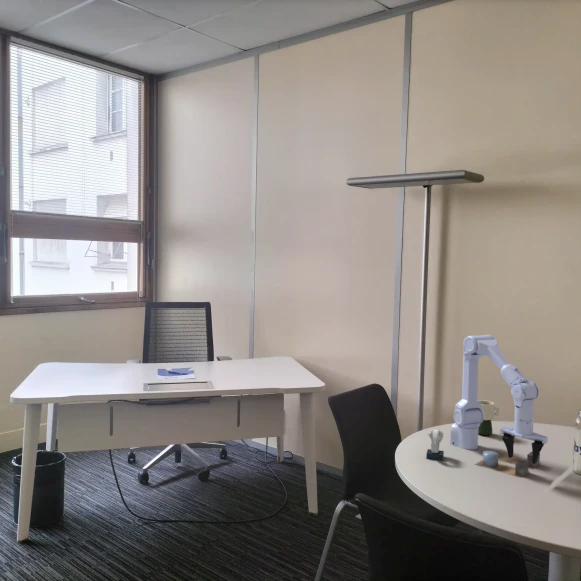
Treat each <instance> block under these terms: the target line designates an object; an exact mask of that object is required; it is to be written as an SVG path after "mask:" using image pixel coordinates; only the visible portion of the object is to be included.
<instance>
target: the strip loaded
mask: <svg viewBox="0 0 581 581" xmlns="http://www.w3.org/2000/svg"><path fill="white" fill-rule="evenodd" d="M474 466H478V467H481V468H485V469H489V470H492V471H495V472H499V473H501V474H502V473H503V474H507V475H509V476H514V477H517V478H521V479H523V478H524V477H526V476H527V475H528V474H529V473H530V471H529V470H530V468H529V460H527V459H526V460H525V458H522V459H520V460H519V461H517V462H516V465H515V464H514V466H510V465H507V464H503V463H499V462H498V467H496V468H490V467H486V466H484V465H483V459H481V460H479V461H478V462H477V463H475V464H474Z"/></svg>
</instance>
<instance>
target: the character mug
mask: <svg viewBox="0 0 581 581" xmlns="http://www.w3.org/2000/svg"><path fill="white" fill-rule="evenodd" d="M477 401H478V402H479V403H480V404H481V405H482V411H483V414H484V419H483V422H482V423H480V426H479V427H478V435H483V436H490V435H491V434H493V425H492V420H494V417H495V416H496V417H497V416H499V415H500V408H499V407H496V406H495V402H493V401H490V400H484V399H483V400H477ZM495 411H496V413H495Z"/></svg>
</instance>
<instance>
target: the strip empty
mask: <svg viewBox="0 0 581 581" xmlns="http://www.w3.org/2000/svg"><path fill="white" fill-rule="evenodd" d="M496 452H497V453H498V454H499V457H498V461H501V462H505V463H509V464H512V465H514V466H515V465H516V462H517V461H519V460H520V459H523V458H522V457H517V456H514V455H513V457H511V458H509V456H508V454H507V453H502V452H498V451H496ZM532 456H533V451H531V452H529V453H527V455H526V459H525V458H524V459H525V460H529V470H530V469H531V470H534V469H536V468H537V467H538V466H540V465H541V464H542V463H540V462H541V458H540V457H541V452H540V453H539V456H538V459H537V463H535V464H532Z"/></svg>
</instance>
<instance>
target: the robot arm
mask: <svg viewBox="0 0 581 581" xmlns="http://www.w3.org/2000/svg"><path fill="white" fill-rule="evenodd" d="M462 342H463V343H462V344H463V345H462V346H463V347H462V350H463V351H462V384H461V386H462V387H461V388H462V389H461V390H462V391H461V399H460V400H459V401H458V402H457V403H455V407H454V412H453V417H452V418H453V421H454V422H453V423H452V425H451V429H450V442H449V444H450V445H451V446H455V447H459V448H460V449H463V450H468V451H469V450H470V451H471V450H476V449H478V448H479V447H478V446H479V433H478V427H479V426H480V423H482V422H483V419H484V414H483V411H482V405H481V404H480V403H479V402H478V401H479V400H478V385H479V359H480V358H481V357H483V356H486V357H487V356H488V357H487V358H489V359H490V360H491V361H492V362H493V363H494V364H495V366H497V367H498V369H499V370H500V376H501V378H503V380H504V381H505V383H506V384H507V385H508V386H509V388H510V393H511V396H512V400H513V401H512V403H513V404H514V419H513V420H514V422H513V423H514V424H513V428H512V427H505V426H502V427H500V430H499V431H500V432H499V434H500V435H502V436H501V440H502V441H503V443H504V445H505V448H506V451H507V455H508V456H509V458H511V457H513V456H514V444H515V438H521V439H525V440H529V441H533V442H531V449H532V451H533V456H532V464H535V463H537V459H538V456H539V453H540V454H541V451H542V450H543V447H544V445H546V444H547V443H548V442H549V441H548V440H549V439H548V436H546V435H542V434H539V433H536V432H535V431H534V420H535V419H534V417H535V416H534V414H535V413H534V412H535V411H534V410H535V400H536V399H537V398H538V396H539V394H540V392H539V387H538V385H537V384H536V382H534V381H530V380H529V379H527V378H526V376H524V375H523V374H522V372H521V371H520V370H519V367H518V366H517V365H514V364H510V363H509V361H508V360H507V359H506V357H505V356H504V354H503V353H502V351H501V350H500V348H499V347H498V346H499V345H498V344H499V343H498V340H496V338H495V336H494V335H493V334H485V335H484V334H482V335H481V334H480V335H467V337H465V338H464V339H463V341H462ZM532 451H531V452H532Z"/></svg>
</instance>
